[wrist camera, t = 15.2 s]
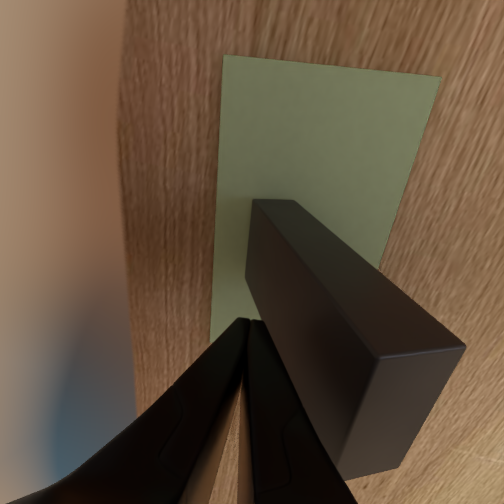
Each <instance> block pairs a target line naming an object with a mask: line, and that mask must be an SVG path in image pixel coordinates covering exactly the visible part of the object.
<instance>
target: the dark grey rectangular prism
mask: <svg viewBox="0 0 504 504" xmlns="http://www.w3.org/2000/svg"><path fill="white" fill-rule="evenodd" d="M245 280H246V282H247V285H248V288H249V290H250V293H251V295H252V298H253V300H254V303H255V305H256V308H257V310H258V313H259V315H260V318H261V320H263V321H264V322H265V324H266V326H267V328H268V330H269V333H270V335H271V337H272V339H273V341H274V343H275V346H276V348H277V350H278V352H279V354H280V356H281V359H282V361H283V363H284V365H285V367H286V369H287V372H288V374H289V376H290V378H291V380H292V382H293V385H294V387H295V389H296V391H297V393H298V395H299V398H300V400H301V402H302V404H303V407H304V408H305V410H306V413H307V415H308V417H309V419H310V421H311V423H312V425H313V427H314V429H315V431H316V433H317V435H318V437H319V439H320V441H321V442H322V444H323V446H324V448H325V449H326V451H327V453H328V455H329V456H330V458H331V460H332V462H333V463H334V465H335V466H336V468H337V470H338V471H339V473H340V475H341V476H342V478H343V480H344V481H346V480H351V479H355V478H359V477H363V476H367V475H371V474H375V473H379V472H383V471H387V470H391V469H396V468H398V467H399V466H400V464H401V462H402V460H403V459H404V457H405V455H406V453H407V452H408V450H409V448H410V446H411V445H412V443H413V441H414V439H415V438H416V436H417V434H418V432H419V431H420V429H421V427H422V425H423V424H424V422H425V420H426V418H427V417H428V415H429V413H430V411H431V409H432V408H433V406H434V404H435V402H436V401H437V399H438V397H439V395H440V394H441V392H442V390H443V388H444V387H445V385H446V383H447V381H448V380H449V378H450V376H451V374H452V373H453V371H454V369H455V367H456V366H457V364H458V362H459V360H460V359H461V357H462V355H463V353H464V352H465V350H466V345H465V343H464V342H462V341H461V340H460V339H459V338H458V337H456V336H455V335H454V334H453V333H452V332H450V331H449V330H448V329H447V328H446V327H445V326H443V325H442V324H441V323H440V322H439V321H437V320H436V319H435V318H434V317H433V316H431V315H430V314H429V313H428V312H427V311H426V310H424V309H423V308H422V307H421V306H420V305H418V304H417V303H416V302H415V301H414V300H413V299H411V298H410V297H409V296H408V295H407V294H405V293H404V292H403V291H402V290H401V289H399V288H398V287H397V286H396V285H395V284H394V283H392V282H391V281H390V280H389V279H388V278H386V277H385V276H384V275H383V274H382V273H380V272H379V271H378V270H377V269H376V268H375V267H373V266H372V265H371V264H370V263H369V262H367V261H366V260H365V259H364V258H363V257H361V256H360V255H359V254H358V253H357V252H356V251H354V250H353V249H352V248H351V247H350V246H348V245H347V244H346V243H345V242H344V241H342V240H341V239H340V238H339V237H338V236H337V235H335V234H334V233H333V232H332V231H331V230H329V229H328V228H327V227H326V226H325V225H323V224H322V223H321V222H320V221H319V220H318V219H316V218H315V217H314V216H313V215H312V214H310V213H309V212H308V211H307V210H306V209H305V208H303V207H302V206H301V205H300V204H299V203H297V202H296V201H295V200H282V199H253V200H252V209H251V219H250V229H249V238H248V248H247V258H246V268H245Z"/></svg>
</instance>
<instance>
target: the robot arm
mask: <svg viewBox="0 0 504 504" xmlns="http://www.w3.org/2000/svg"><path fill="white" fill-rule="evenodd" d="M241 383H242V385H241ZM240 389H241V396H240V426H239V459H238V492H237V504H358V503H357V501H356V500H355V498H354V496H353V495H352V493H351V491H350V490H349V488H348V486H347V485H346V483H345V481H344V480H343V478H342V476H341V475H340V473H339V471H338V470H337V468H336V466H335V465H334V463H333V462H332V460H331V458H330V456H329V455H328V453H327V451H326V449H325V448H324V446H323V444H322V442H321V441H320V439H319V437H318V435H317V433H316V431H315V429H314V427H313V425H312V423H311V421H310V419H309V417H308V415H307V413H306V410H305V408H304V407H303V404H302V402H301V400H300V398H299V395H298V393H297V391H296V389H295V387H294V385H293V382H292V380H291V378H290V376H289V374H288V372H287V369H286V367H285V365H284V363H283V361H282V359H281V356H280V354H279V352H278V350H277V348H276V346H275V343H274V341H273V339H272V337H271V335H270V333H269V330H268V328H267V326H266V324H265V322H264V321H263V320H257V319H252V320H251V322H250V319H249V318H244V317H237V318H236V319H235V320H234V321H233V322H232V323H231V324H230V325H229V327H228V328H227V329H226V330H225V331H224V332H223V333H222V334H221V335H220V336H219V337H218V338H217V339H216V340H215V341H214V342H213V343H212V344H211V345H210V346H209V347H208V348H207V349H206V350H205V351H204V352H203V353H202V354H201V356H200V357H199V358H198V359H197V360H196V361H195V362H194V363H193V364H192V365H191V366H190V367H189V368H188V369H187V370H186V371H185V372H184V373H183V374H182V375H181V376H180V377H179V378H178V379H177V380H176V381H175V382H174V384H173V385H172V386H170V387H169V388H168V390H167V391H166V392H165V393H164V394H163V395H162V396H161V397H160V398H159V399H158V400H157V401H156V402H155V403H154V404H153V405H152V406H150V407H149V408H148V409H147V410H146V411H145V412H144V413H143V414H142V415H141V416H139V417H138V418H137V419H136V420H135V421H134V422H133V423H131V424H130V425H129V426H128V427H127V428H125V429H124V430H123V431H122V432H121V433H119V434H118V435H117V436H116V437H115V438H113V439H112V440H111V441H110V442H109V443H107V444H106V445H105V446H104V447H103V448H102V449H100V450H99V451H98V452H97V453H95V454H94V455H93V456H92V457H91V458H89V459H88V460H87V461H86V462H85V463H83V464H82V465H81V466H80V467H78V468H77V469H76V470H75V471H73V472H72V473H70V474H69V475H67V476H66V477H64V478H63V479H61V480H60V481H58V482H56V483H54V484H53V485H51V486H49V487H47V488H45V489H42V490H40V491H37V492H35V493H32V494H30V495H27V496H25V497H22V498H20V499H17V500H14V501H12V502H10V503H7V504H209V500H210V497H211V493H212V490H213V486H214V483H215V479H216V475H217V472H218V468H219V465H220V461H221V458H222V454H223V451H224V447H225V444H226V440H227V436H228V433H229V429H230V426H231V422H232V419H233V415H234V412H235V408H236V404H237V401H238V397H239V393H240Z"/></svg>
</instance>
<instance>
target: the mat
mask: <svg viewBox="0 0 504 504" xmlns="http://www.w3.org/2000/svg"><path fill="white" fill-rule="evenodd" d="M441 79H442V77H438V76H429V75H419V74H409V73H400V72H390V71H380V70H371V69H361V68H351V67H342V66H332V65H322V64H313V63H303V62H293V61H284V60H274V59H264V58H255V57H245V56H236V55H226V54H224V55H223V66H222V87H221V109H220V130H219V152H218V173H217V195H216V216H215V238H214V259H213V281H212V302H211V324H210V342H211V343H213V342H214V341H215V340H216V339H217V338H218V337H219V336H220V335H221V334H222V333H223V332H224V331H225V330H226V329H227V328H228V327H229V325H230V324H231V323H232V322H233V321H234V320H235V319H236V318H237V317H244V318H249V319H250V322H251V320H252V319H257V320H261V318H260V315H259V313H258V310H257V308H256V305H255V303H254V300H253V298H252V295H251V293H250V290H249V288H248V285H247V282H246V280H245V268H246V258H247V248H248V238H249V229H250V219H251V209H252V200H253V199H282V200H295V201H296V202H297V203H299V204H300V205H301V206H302V207H303V208H305V209H306V210H307V211H308V212H309V213H310V214H312V215H313V216H314V217H315V218H316V219H318V220H319V221H320V222H321V223H322V224H323V225H325V226H326V227H327V228H328V229H329V230H331V231H332V232H333V233H334V234H335V235H337V236H338V237H339V238H340V239H341V240H342V241H344V242H345V243H346V244H347V245H348V246H350V247H351V248H352V249H353V250H354V251H356V252H357V253H358V254H359V255H360V256H361V257H363V258H364V259H365V260H366V261H367V262H369V263H370V264H371V265H372V266H373V267H375V268H376V269H377V270H378V267H379V264H380V261H381V258H382V255H383V252H384V249H385V246H386V243H387V240H388V237H389V234H390V231H391V228H392V225H393V222H394V219H395V216H396V213H397V210H398V207H399V204H400V201H401V198H402V195H403V192H404V189H405V186H406V183H407V180H408V177H409V174H410V171H411V168H412V166H413V163H414V160H415V157H416V154H417V151H418V148H419V145H420V142H421V139H422V136H423V133H424V130H425V127H426V124H427V121H428V118H429V115H430V112H431V109H432V106H433V103H434V100H435V97H436V94H437V91H438V88H439V85H440V82H441Z"/></svg>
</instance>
